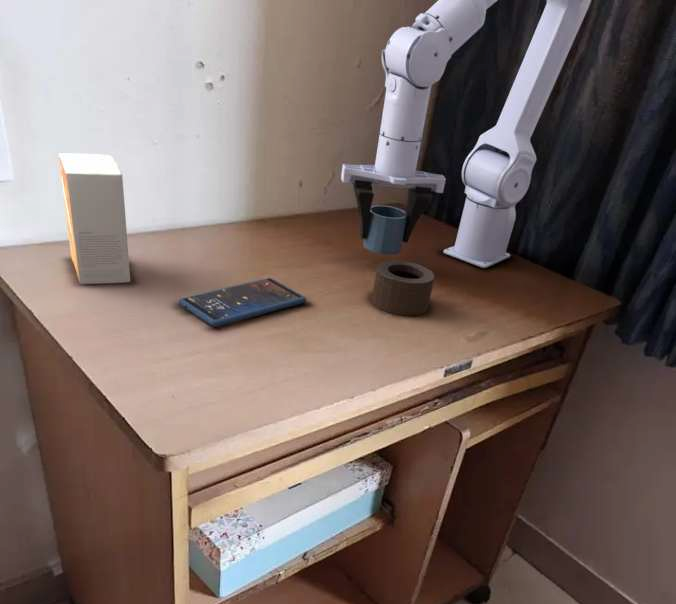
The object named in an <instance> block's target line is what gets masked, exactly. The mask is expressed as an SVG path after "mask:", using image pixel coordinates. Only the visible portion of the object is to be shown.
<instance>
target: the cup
mask: <svg viewBox="0 0 676 604" xmlns="http://www.w3.org/2000/svg"><path fill="white" fill-rule="evenodd" d="M407 216H408V214H407V213H406V210H403V209H401V208H398V207H395V206H390V205H378V204H377V205H376V204H375V205H371V209H370V214H369V222H368V232H367V237H366V239H363V244H362V245H363V248H364V249H366V250H368V251H369V252H371V253H375V254H378V255H384V256H393V255H398V254H400V253H401V252H402V247H403V243H404V242H403V237H404V231H405V226H406V221H407Z"/></svg>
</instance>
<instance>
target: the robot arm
mask: <svg viewBox="0 0 676 604" xmlns="http://www.w3.org/2000/svg"><path fill="white" fill-rule="evenodd" d="M496 2H498V0H437V1H436V2H435V3H434V4H433V5H432V6H431V7H429V9H427V10H426V11H425V12H424V13H422V12H421V13H419V14H418V15H417V16H416V17H415V19H414V20H415V21H414V23H413V24H412V25H411V26H406V27H405V26H402V27H400V28H398V29H396V30H395V31H394V32H393V33H392V35H391V36H390V38H389V39H388V41H387V43H386V46H385V48H384V49H382V50H381V64H382V68H383V71H384V74H385V82H384V88H385V95H384V101H383V102H384V103H383V108H382V115H381V116H382V117H381V121H380V129H379V137H378V143H377V147H376V148H377V149H376V156H375V163H374V164H347V163H343V164H342V166H341V167H342V168H341V175H340V180H341V182H342V183H343V184H350V183H351V184H352V187H353V191H354V196H355V199H356V204H357V210H358V218H359V236H360V239H363V240H364V239H366V237H367V232H368V222H369V214H370V209H371V206H373V205H372V204H373V200H374V196H375V194H374V192H373V186H372V185H374V186H383V187H384V186H385V187H394V188H404V189H407V200H406V207H405V212H406V213H407V214H408V216H407V221H406V226H405V231H404V237H403V242H402V243H409V240H410V237H411V235H412V232H413V231H414V228H415V226H416V224H417V223H418V221H419V219H420V217H421V216H422V214H423V213H424V212H425V210H426V209H427V208H428V207H429V205H430V204H431V202H432V200H433V194H432V192H435V193H437V194H443V193H444V189H445V185H446V180H447V179H446V177H445V176H444V175H443V174H437V173H431V172H426V171H421V170H417V165H418V160H419V154H420V149H421V144H422V138H423V132H424V127H425V123H426V118H427V113H428V112H427V111H428V105H429V101H430V95H431V90H432V85H434V84H435V83H437V82H439V81H440V80H441V78H442V77H443V75H444V73H445V70H446V67H447V63H448V62H449V60H450V59H451V58H452V55H453V54H454V53H455V52H456V51H458V49H460V48H461V47H462V46H463V45H464V44H465V43H466V42H467V41H468V40H469V39H470V38H471V37H472V36H474V34H476V33H477V32H478V31H479V30H480V29H481V28H482V27H483V26H484V24H485V21H486V14H487V10H488V9H489V8H490V7H491V6H493V5H494V4H495V3H496ZM591 2H592V0H546V4H545V7H544V9H543V11H542V14H541V16H540V19H539V21H538V23H537V26H536V29H535V31H534V33H533V35H532V38H531V41H530V43H529V44H528V45H529V46H528V48H527V50H526V53H525V55H524V58H523V60H522V62H521V64H520V67H519V69H518V72H517V75H515V79H514V81H513V84H512V86H511V89H510V91H509V94H508V96H507V98H506V100H505V103H504V106H503V107H502V110H501V112H500V115H499V118H498V120H497V121H496V125H495V126H493V127H491V128H490V129H488V130H487V131H485V132H483V133H482V134H480V135H479V137H478V140H477V142H476V144H475V146H474V147H473V149H472V150H471V151H470V152H469V154H468V155H467V156H466V158H465V160H464V162H463V165H462V169H461V181H462V184H463V185H464V186H465V187H464V188H465V189H464V194H466V197H465V201H464V205H463V209H462V213H461V218H460V222H459V226H458V231H457V234H456V239H455V243H454V245H453V246H450V247H447V248H445V249H443V252H442V253H443V254H445V255H447V256H450V257H452V258H455V259H458V260H461V261H462V262H466V263H468V264H471V265H474V266H476V267H479V268H482V269H486V268H489V267H491V266H494V265H496V264H498V263H501V262H502V261H504V260H506V259H508V258H511V254H510V253H509V252H507V249H508V245H509V242H510V239H511V236H512V232H513V229H514V226H515V222H516V219H517V218H516V217H517V212H516V206H517V205H516V204H518V203H519V202H520V201H521V200H522V199H523V198H524V196H525V195H526V194H527V192H528V190H529V188H530V184H531V179H532V172H533V169H534V166H535V164H536V162H537V155H536V152H535V150H534V147H533V145H532V143H531V138H532V136H533V134H534V131H535V130H536V129H535V128H536V126H537V124H538V122H539V119H540V118H541V115H542V113H543V111H544V109H545V106H546V104H547V101H548V99H549V97H550V96H551V93H552V91H553V89H554V86H555V85H556V81H557V79H558V77H559V76H560V73H561V71H562V68H563V66H564V64H565V61H566V59H567V57H568V54H569V52H570V50H571V49H572V45H573V43H574V41H575V39H576V37H577V34H578V32H579V30H580V27H581V25H582V23H583V21H584V18H585V16H586V14H587V12H588V10H589V7H590V4H591ZM502 152H506V153H507V154H508V155H509V156H507V155H505V154H502Z"/></svg>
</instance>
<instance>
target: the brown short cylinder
mask: <svg viewBox="0 0 676 604" xmlns="http://www.w3.org/2000/svg"><path fill="white" fill-rule="evenodd" d="M434 281H435V274H434V272H433V271H432V270H431V269H429V268H428V267H425V266H423V265H421V264H419V263H417V262H413V261H406V260H401V259H400V260H399V259H397V260H396V259H393V260H392V259H391V260H384V261H381V262H380V263H378V264H377V266H376V271H375V277H374V283H373V289H372V294H371V296H372V297H371V301H372V304H374V306H375V307H377V308H378V309H380V310H382V311H384V312H386V313H389V314H393V315H396V316H397V315H398V316H405V317H406V316H407V317H411V316H419V315H422V314H424V313H426V311H428V307H429V303H430V300H431V295H432V290H433V286H434Z"/></svg>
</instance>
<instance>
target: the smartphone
mask: <svg viewBox="0 0 676 604" xmlns="http://www.w3.org/2000/svg"><path fill="white" fill-rule="evenodd" d="M306 302H307V298H306V296H304V295H303V294H301V293H299V292H297V291H295V290H293V289H292V288H290V287H289V286H286V285H284V284H283V283H281V282H279V281H277V280H275V279H273V278H272V277H267V278H262V279H258V280H253V281H250V282H246V283H241V284H237V285H232V286H228V287H223V288H220V289H215V290H211V291H207V292H201V293H198V294H194V295H189V296H184V297H180V298H179V299H178V305H179V306H181V307H182V308H183V309H186V310H187V311H188V312H190V313H192V314H193V315H194V316H196V317H197V318H199V319H201V320H202V321H204V322H205V323H206V324H208V325H210V326H212V327H215V328H216V327H221V326H223V325H227V324H231V323H235V322H239V321H243V320H246V319H249V318H254V317H256V316H261V315H265V314H267V313H268V314H269V313H271V312H275V311H278V310H282V309H286V308H290V307H294V306H297V305H301V304H304V303H306Z"/></svg>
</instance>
